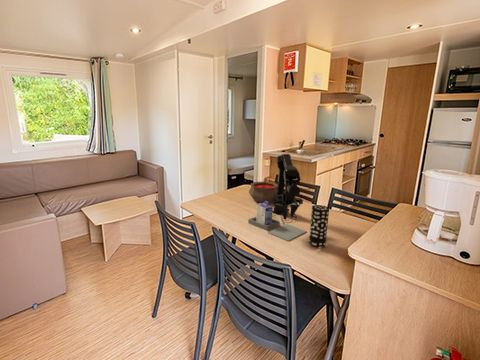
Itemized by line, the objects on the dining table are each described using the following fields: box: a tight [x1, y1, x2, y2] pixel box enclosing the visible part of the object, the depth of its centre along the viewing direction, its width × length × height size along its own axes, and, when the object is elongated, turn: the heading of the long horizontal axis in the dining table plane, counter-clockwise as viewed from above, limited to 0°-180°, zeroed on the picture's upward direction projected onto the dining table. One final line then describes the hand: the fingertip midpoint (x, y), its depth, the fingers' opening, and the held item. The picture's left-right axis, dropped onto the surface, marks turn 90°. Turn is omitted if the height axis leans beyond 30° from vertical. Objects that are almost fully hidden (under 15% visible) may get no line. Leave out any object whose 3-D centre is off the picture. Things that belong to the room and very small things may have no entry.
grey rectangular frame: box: [247, 216, 281, 231], centre depth 163 cm, size 12×15×2 cm
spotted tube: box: [308, 204, 330, 249], centre depth 137 cm, size 8×8×20 cm
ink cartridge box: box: [255, 201, 274, 226], centre depth 162 cm, size 10×6×14 cm, turn 28°
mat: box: [267, 223, 308, 242], centre depth 152 cm, size 18×14×1 cm
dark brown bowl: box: [248, 178, 278, 204], centre depth 206 cm, size 24×24×16 cm
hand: (288, 218), depth 150 cm, fingers open, 6 cm apart
